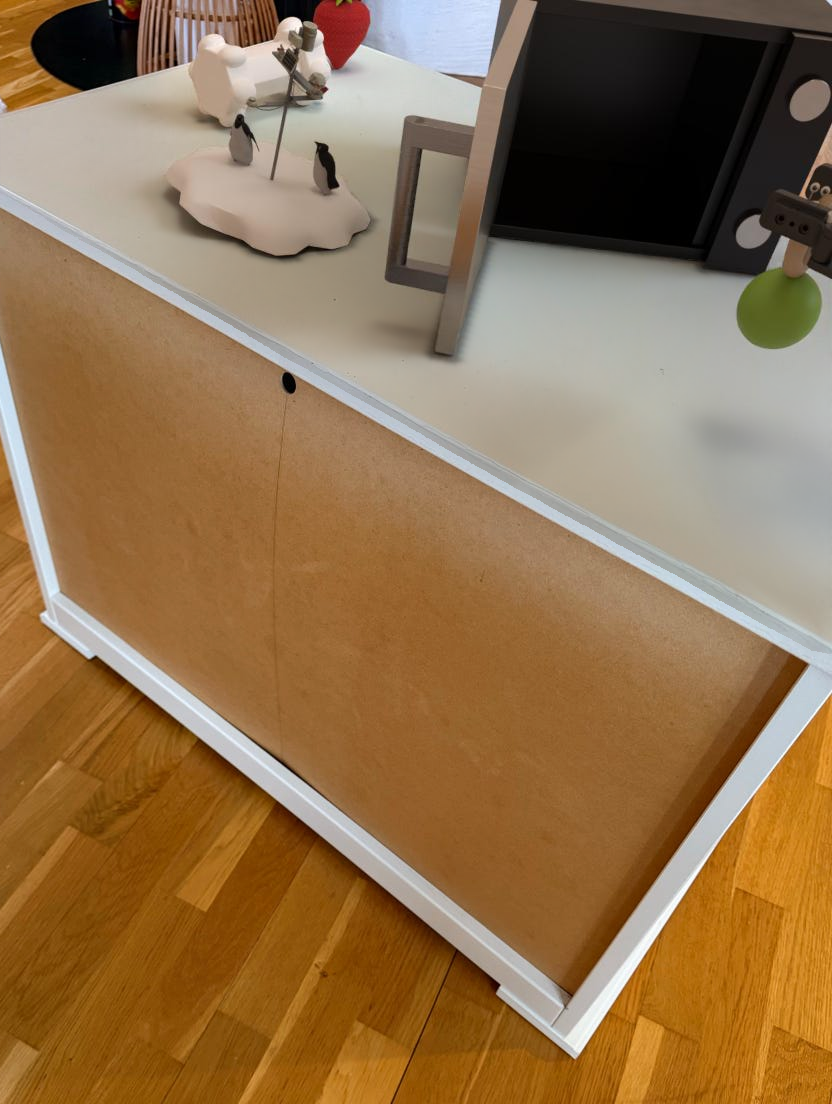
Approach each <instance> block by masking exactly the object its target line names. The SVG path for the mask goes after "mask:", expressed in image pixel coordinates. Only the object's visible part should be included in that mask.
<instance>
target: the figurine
mask: <svg viewBox="0 0 832 1104" xmlns="http://www.w3.org/2000/svg"><path fill="white" fill-rule="evenodd" d="M317 28H318V26H317V25H316V24H314V22H312V21H307V20H305V21H303V22H302V27H300V29H299V34H297V33H296V32H295V31H296V29H295V31H294V30H289V35H288V40H289V41H290V42H291V43H292V44H291V43H290V44H291V45H294V46H295V47H296V48H294V47H292V46H291V45H290V46H291V47H292V49H293V50H291V49H290V48H289V47H288V49H287V50H286V52H285V51H284V50H285V49H284V48H283V47H282V44H281V45H280V47H282V48H277V51H272V54H273V55H274V56H275V58H276V59H277V60H278V61H279V62H280V64H281V65H282V66H283V67H284V68H285V69H286V71H287V74H290V76H289V75H288V77H290V79H289V85H288V90H287V94H286V95H285V98H284V101H257V99H255V98H254V97H249V99H247V102H246V104H247V105H248V107H249V108H256V109H257V110H261V111H264V109H263V108H274V109H266V112H267V111H268V112H269V111H274V110H277V109H279V108H282V107H283V111H282V116H281V121H280V127H279V130H278V131H279V132H278V137H277V142H276V144H274V143H270V142H266V141H260V142H258V143H257V140H256V138H255V135H254V133H253V132H252V131H251V127H249V125H248V123H246V122H245V117H244V116H243V115H242V114H238V115H237V116H236V119H235V122H234V123H233V125H232V127H231V130H230V132H229V133H230V134H229V135H230V138H229V141H228V146H216V145H215V146H209V147H204V148H200V149H196V150H194V151H193V152H191V153H190V154H188V155H187V156H185V157H183V158H181V159H178V160H176V161H174V162H173V163H172V164H171V165H170V166H169V167H168V169H167V170H165V173H164V174H163V177H164V178H165V180H166V181H167V182H168V183H169V185H171V186H172V187H174V188H175V189H176V190H177V191H179V193H180V196H179V204H178V205H180V206H181V207H182V208H183V209H184V210H185V211H187V213H189V214H190V215H191V216H192V218H194V219H195V220H196V221H197V222H198V223H200V225H203V226H205V227H207V228H209V229H213V230H214V231H217V232H220V233H222V234H224V235H228V236H230V237H234V238H236V239H238V240H242V241H243V242H245V243H246V244H247V245H249V246H250V247H252V248H253V249H256V250H258V251H262V252H264V253H267V254H269V255H274V256H287V255H288V256H289V255H290V256H291V255H296V254H298V253H299V252H301V251H302V250H303V249H305V248H307V247H308V246H309V247H316V248H321V249H329V250H334V249H339V248H342V247H346V246H349V244H350V242H351V240H352V237H353V235H354V234H356V233H359V232H362V231H364V230H367V229H368V227H369V224H370V222H371V218H370V215H369V213H368V210H367V208H365V206H364V205H363V204H362V203H361V202H360V201H359V200H358V199H357V198H356V197H355V196H354V195H353V194H352V193H351V192H350V188H349V187H350V186H349V183H348V180H347V179H346V178H345V177H344V176H342V175H341V174H339V173H338V172H336V169H337V168H336V161H335V159H334V156H333V155H332V153H331V152H329V149H330V147H329V145H328V144H327V143H324V142H319V141H316V140H314V144H315V145H316V149H315V153H314V158H313V159H314V160H309V159H306V158H304V157H302V156H298V155H297V154H294V153H291V152H289V151H288V150H286V149H285V148H284V147H282V146H281V144H282V139H283V133H284V129H285V125H286V124H285V123H286V118H287V113H288V110H289V109H290V108H292V106H293V102H296V101H308V100H315V101H321V100H323V99H324V95H325V94H326V93H327V92H328V91H329V90H330V89H329V88H328V87H327V86H326V85H327V82H326V81H325V77H324V75H322V74H321V73H318V72H315V73H312V75H311V76H310V77H309V81H307V80H306V79H305V78H304V77H303V76H302V75H301V74H300V73H299V72H298V71H297V70H296V67H297V63H298V61H299V58H298V55H299V53H300V51H299V49H301V50H303V51H306V52H312V51H313V48H314V44H315V39H316V36H317ZM292 51H295V52H294V53H293V52H292ZM293 79H294V80H295V81H297V82H298V83H299V84H300V85H301V86H302V87H303V88H304V89H305V90H306V92H305V91H304V92H305V93H306V94H307V95H305V96H293V95H294V94H293V93H292V84H293V85H294V83H295V82H294V81H293ZM293 82H294V83H293ZM295 84H296V83H295ZM294 87H295V85H294ZM298 88H299V87H298ZM301 90H302V89H301ZM302 91H303V90H302ZM293 92H294V89H293ZM291 93H292V94H293V95H292V96H290V95H291ZM253 143H254V144H253Z"/></svg>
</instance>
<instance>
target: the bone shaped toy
mask: <svg viewBox="0 0 832 1104" xmlns="http://www.w3.org/2000/svg"><path fill="white" fill-rule="evenodd" d="M302 26H303V22H302V21H301V19H300V18H298V17H295V16H290V17H286V18H285V19H283V20H282V21H281V22H280V23H279V24H278V26H277V28H276V33H275V36H274V38H273V41H271V42H270V43H266V44H261V45H257V46H253V47H249V48H242V47H241V46H239V45H231V44H229V43H226V41H225V39H224V37H223V36H222V35H220V34H217V33H209V34H207V35H205V36H204V37H202V39H200V40H199V43H198V45H197V53H196V55H195V58H194V59H193V60H192V61H191V62H190V63H189V65H188V70H187V72H188V73H187V74H188V77H189V79H190V80H191V82H192V85H193V88H194V91H195V94H196V98H197V101H198V103H197V107H198V110H199V111H200V112H201V113H202V114H203V115H205V116H212V117H215V118H217V119H218V121H219V123H220V125H221V126H223V127H226V128H232V125H233V123H234V122H235V119H236V116H237V115H238V114H242V115H243V116H244V118H245V116H246V112H247V109H248V107H249V106H248V105H247V104H246V102H247V99H249V97H254V98H255V99H256V100H257V99H260V98H265V97H268V96H271V95H272V96H273V95H276V94H281V95H285V96H286V94H287V90H288V85H289V79H290V77H288V75H289V76H290V74H287V71H286V69H285V68H284V67H283V66H282V65H281V64H280V62H279V61H278V60H277V59H276V58H275V56H274V55H273V54H272V51H277V48H282V47H283V48H284V49H285V50H284V51H285V52H286V50H287V49H288V47H289V48H290V49H291V50H293V49H292V47H294V48H296V47H295V46H294V45H291V44H292V43H291V42H290V41H289V40H288V35H289V30H294V31H295V29H296V31H295V32H296V33H297V34H299V29H300V27H302ZM323 40H324V37H323V34H322V32H321V31H320V30H318V29H317V36H316V39H315V44H314V48H313V51H312V52H306V51H303V50H301V49H299V51H300V53H299V55H298V58H299V61H298V63H297V67H296V70H297V71H298V72H299V73H300V74H301V75H302V76H303V77H304V78H305V79H306V80H307V81H309V77H310V76H311V75H312V73H315V72H318V73H321V74H322V75H324V77H325V81H326V83H327V82H328V81H329V80H330V79H331V75H332V68H331V65H330V64H329V61H328V57H327V56H326V54H325V50H324V46H323ZM290 43H291V44H290ZM281 44H282V47H280V45H281ZM290 45H291V46H292V47H291V46H290ZM292 52H293V53H294V52H295V51H292ZM293 81H294V82H295V83H296V84H295V83H294V82H293V83H294V85H295V87H294V85H293V84H292V93H293V94H294V95H293V94H292V93H291V95H290V96H292V95H293V96H305V95H307V94H306V93H305V92H306V90H305V89H304V88H303V87H302V86H301V85H300V84H299V83H298V82H297V81H295V80H294V79H293ZM298 87H299V88H298ZM293 89H294V92H293ZM301 89H302V90H303V91H302V90H301ZM304 91H305V92H304ZM315 101H316V100H308V101H295V103H296V104H297V105H299V106H309V105H311V104H313V103H315Z"/></svg>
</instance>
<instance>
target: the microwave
mask: <svg viewBox="0 0 832 1104" xmlns="http://www.w3.org/2000/svg"><path fill="white" fill-rule="evenodd" d="M517 1H518V0H500V3H499V8H498V14H497V19H496V25H495V30H494V35H493V40H492V46H491V47H492V48H491V51H490V57H489V64H488V67H487V68H488V69H487V72H488V71H489V69H490V66H491V64H492V61H493V59H494V56H495V54H496V52H497V49H498V47H499V44H500V42H501V39H502V37H503V35H504V32H505V30H506V27H507V25H508V22H509V20H510V18H511V15H512V13H513V10H514V8H515V5H516V3H517ZM531 1H537V8H536V12H535V17H534V22H533V27H532V32H531V36H530V41H529V46H528V51H527V56H526V60H525V65H524V70H523V75H522V80H521V84H520V89H519V94H518V99H517V104H516V108H515V113H514V118H513V123H512V128H511V132H510V137H509V142H508V147H507V152H506V156H505V161H504V166H503V171H502V176H501V180H500V185H499V190H498V195H497V200H496V204H495V209H494V214H493V219H492V224H491V228H490V233H489V237H495V238H500V239H501V238H503V239H510V240H519V241H529V242H536V243H545V244H552V245H560V246H570V247H578V248H586V249H596V250H601V251H602V250H603V251H610V252H619V253H628V254H635V255H636V254H638V255H645V256H652V257H654V256H655V257H663V258H671V259H678V260H685V261H686V260H687V261H696V262H701V264H702V265H703V268H707V269H708V268H709V269H716V270H724V271H725V270H726V271H735V272H742V273H750V274H758V275H760V274H761V273H763V272H765V271H767V268H768V266H769V264H770V262H771V260H772V257H773V255H774V253H775V251H776V249H777V246H778V243H779V242H780V240H781V237H782V235H779V234H777V233H774V232H772V231H770V230H767V229H765V228H763V227H761V225H760V223H759V218H760V216H761V213H762V211H763V208H764V206H765V204H766V201H767V199H768V197H769V195H770V194H772V193H773V192H775V191H777V190H779V189H782V190H785V191H788V192H790V193H793V194H795V195H798V196H801V193H802V191H803V189H804V187H805V184H806V182H807V180H808V177H809V175H810V174H811V171H812V168H813V166H814V165H815V162H816V160H817V158H818V156H819V154H820V151H821V149H822V146H823V145H824V142H825V140H826V138H827V136H828V134H829V131H830V128H831V127H832V4H831V3H830V2H829V1H828V0H531Z"/></svg>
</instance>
